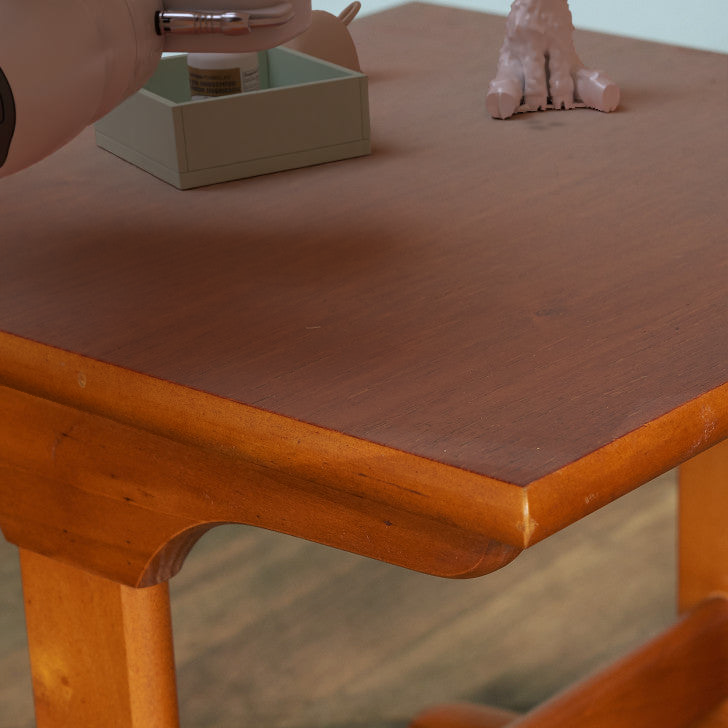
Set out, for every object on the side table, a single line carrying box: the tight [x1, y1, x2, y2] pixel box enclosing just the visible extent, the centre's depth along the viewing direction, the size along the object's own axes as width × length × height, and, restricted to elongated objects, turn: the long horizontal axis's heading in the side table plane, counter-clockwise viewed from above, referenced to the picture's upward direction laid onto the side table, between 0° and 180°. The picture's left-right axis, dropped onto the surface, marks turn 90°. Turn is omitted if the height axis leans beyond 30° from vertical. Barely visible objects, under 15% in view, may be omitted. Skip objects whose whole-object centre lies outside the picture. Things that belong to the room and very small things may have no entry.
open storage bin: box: [93, 45, 372, 190], centre depth 107 cm, size 13×13×5 cm
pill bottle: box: [186, 52, 260, 101], centre depth 105 cm, size 4×4×8 cm
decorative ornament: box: [281, 0, 365, 74], centre depth 123 cm, size 4×8×5 cm, turn 133°
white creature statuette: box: [485, 0, 621, 120], centre depth 115 cm, size 10×9×12 cm
